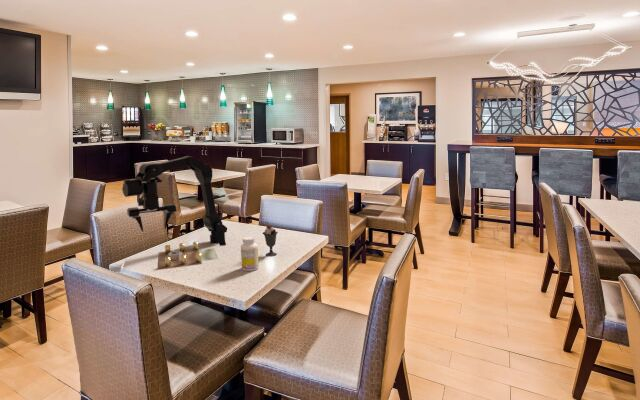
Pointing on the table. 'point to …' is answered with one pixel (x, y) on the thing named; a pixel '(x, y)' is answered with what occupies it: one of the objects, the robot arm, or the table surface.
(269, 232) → the sundae
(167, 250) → the spacers
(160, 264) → the board
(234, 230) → the table surface
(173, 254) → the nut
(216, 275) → the table surface
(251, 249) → the supplement bottle
